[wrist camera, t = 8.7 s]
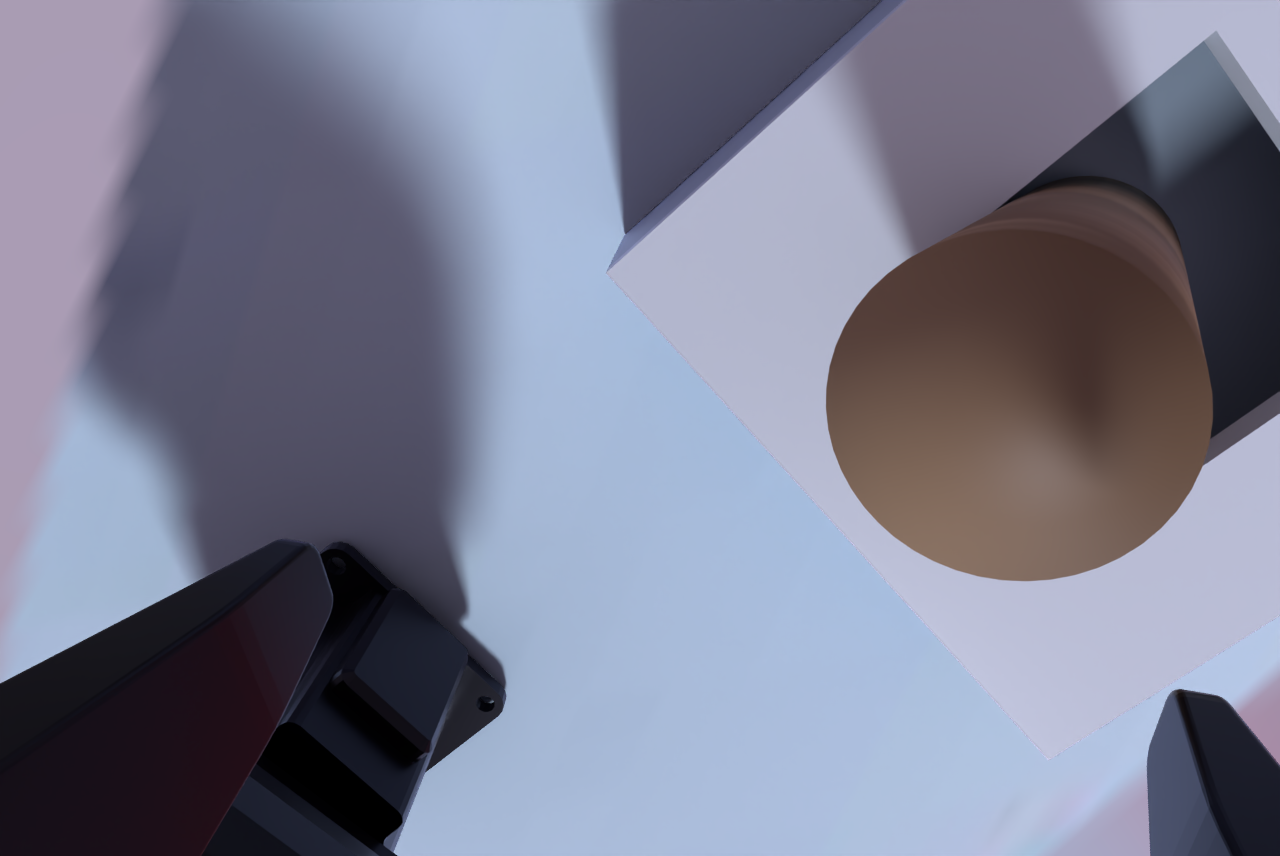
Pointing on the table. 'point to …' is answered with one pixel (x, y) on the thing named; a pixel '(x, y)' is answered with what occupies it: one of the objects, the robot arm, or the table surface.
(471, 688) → the robot arm
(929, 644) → the table surface
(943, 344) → the peg
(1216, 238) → the box
